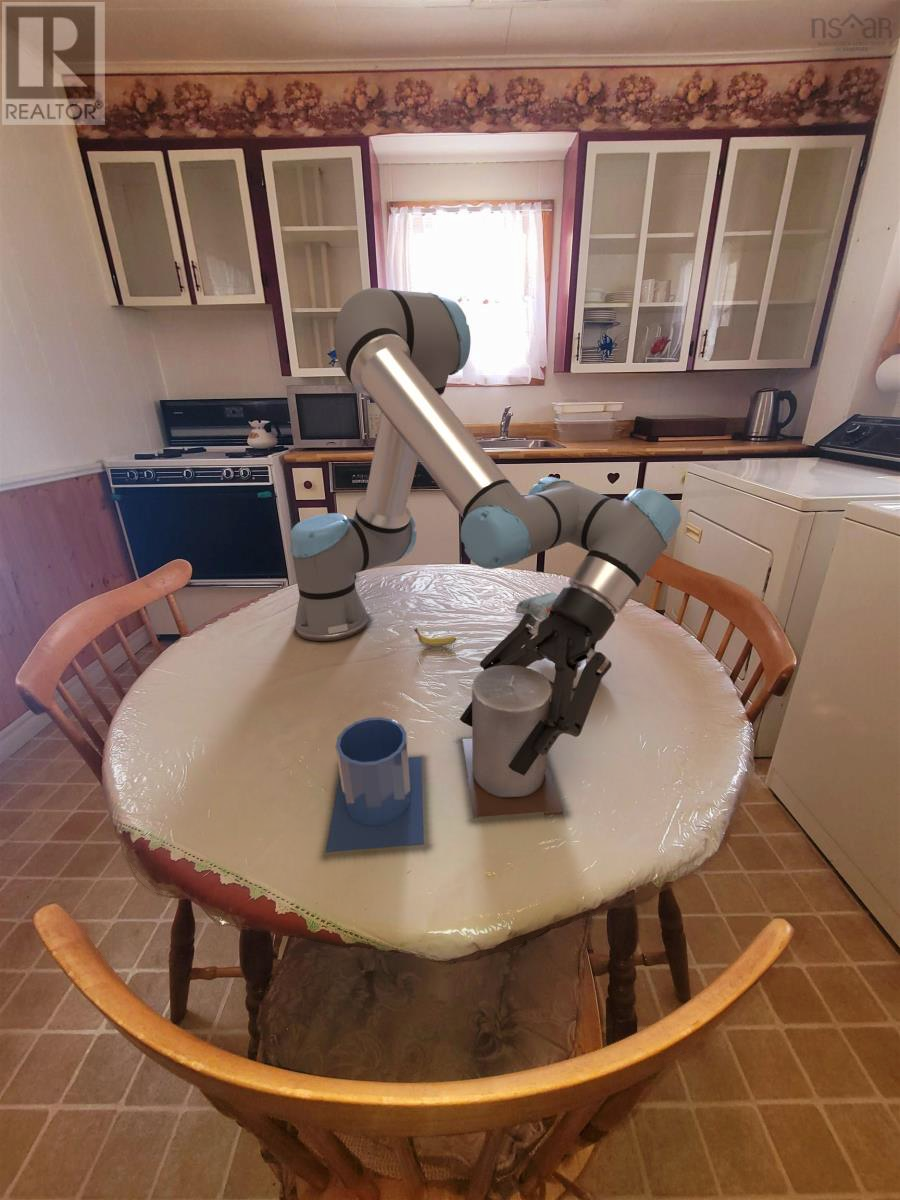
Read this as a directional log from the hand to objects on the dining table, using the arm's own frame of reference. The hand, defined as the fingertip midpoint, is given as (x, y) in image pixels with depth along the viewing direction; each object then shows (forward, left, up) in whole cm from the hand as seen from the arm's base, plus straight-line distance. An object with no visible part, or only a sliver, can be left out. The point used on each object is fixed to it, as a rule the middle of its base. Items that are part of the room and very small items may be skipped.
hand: (490, 745), depth 61 cm
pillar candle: (-1, +3, -6) cm, 7 cm away
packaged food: (-45, +20, -7) cm, 50 cm away
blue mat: (+2, -14, -6) cm, 16 cm away
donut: (-23, +18, -7) cm, 30 cm away
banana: (-36, -5, -7) cm, 37 cm away
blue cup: (+2, -14, -6) cm, 16 cm away
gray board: (-1, +3, -6) cm, 7 cm away
